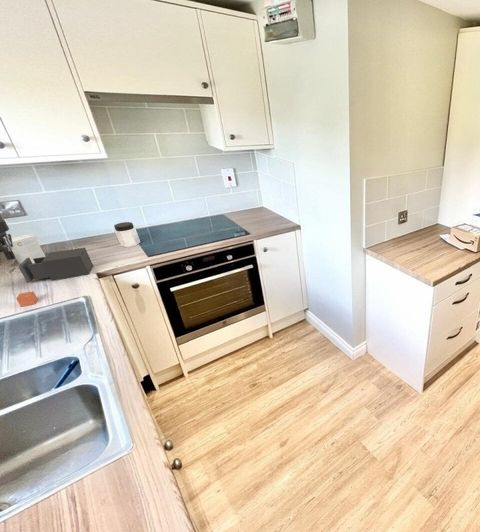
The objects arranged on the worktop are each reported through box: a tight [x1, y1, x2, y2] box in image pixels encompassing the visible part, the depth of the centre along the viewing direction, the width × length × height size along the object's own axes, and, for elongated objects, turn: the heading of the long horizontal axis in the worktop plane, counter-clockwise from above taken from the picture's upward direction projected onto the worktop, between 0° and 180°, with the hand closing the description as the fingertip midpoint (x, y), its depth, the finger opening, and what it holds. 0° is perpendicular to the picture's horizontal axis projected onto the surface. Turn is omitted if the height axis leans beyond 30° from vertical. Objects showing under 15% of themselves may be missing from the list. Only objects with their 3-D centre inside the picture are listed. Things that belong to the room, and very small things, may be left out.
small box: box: [11, 233, 47, 265], centre depth 158 cm, size 8×6×13 cm
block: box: [15, 290, 39, 307], centre depth 129 cm, size 4×4×4 cm
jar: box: [113, 221, 141, 248], centre depth 180 cm, size 9×8×12 cm
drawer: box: [5, 257, 51, 284], centre depth 145 cm, size 17×10×8 cm, turn 122°
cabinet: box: [42, 247, 94, 282], centre depth 150 cm, size 13×11×10 cm
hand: (11, 258), depth 139 cm, fingers closed
